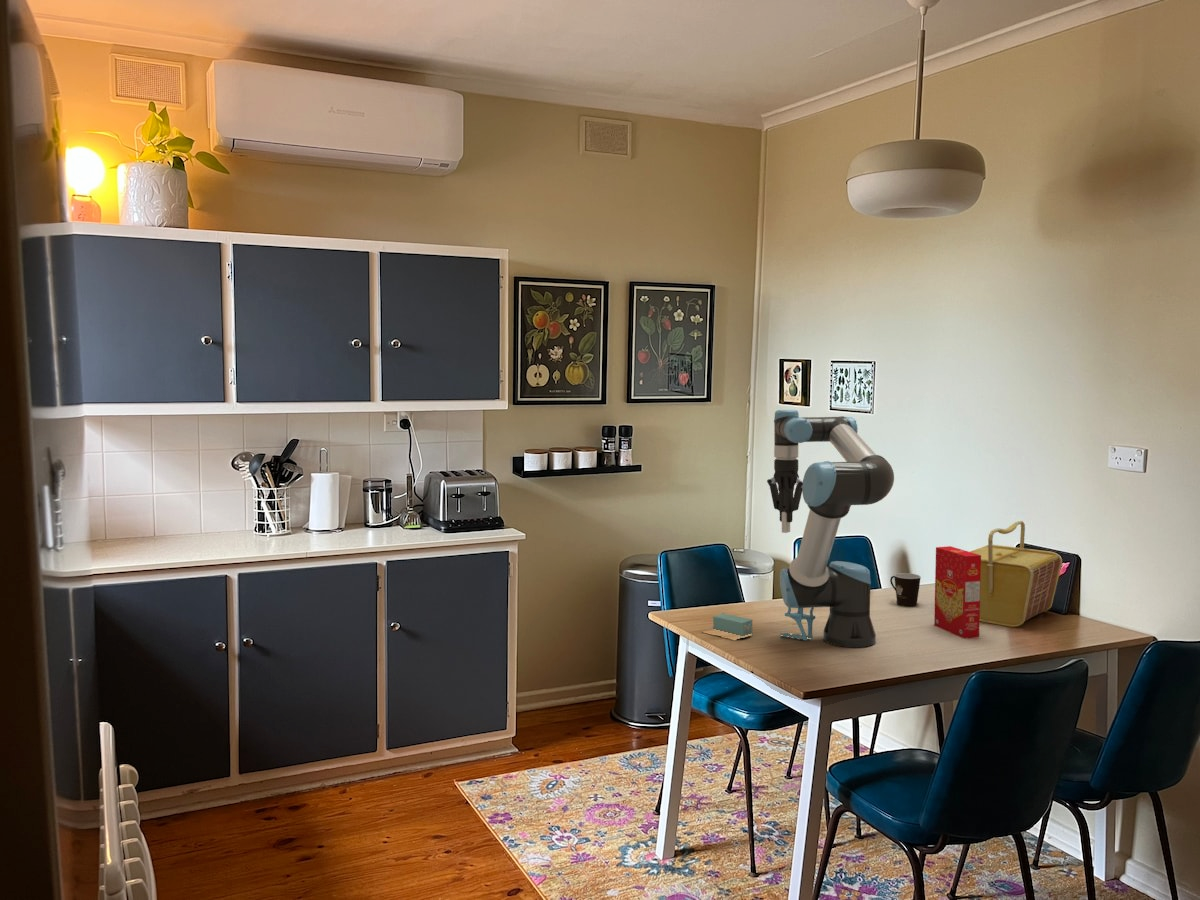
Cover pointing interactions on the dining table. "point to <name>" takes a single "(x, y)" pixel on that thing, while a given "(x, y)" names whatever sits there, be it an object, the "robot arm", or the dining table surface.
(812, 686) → the dining table surface
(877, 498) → the robot arm
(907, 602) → the coffee mug
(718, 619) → the teal block
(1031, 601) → the picnic basket
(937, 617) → the food packaging
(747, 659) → the dining table surface
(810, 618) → the chair
